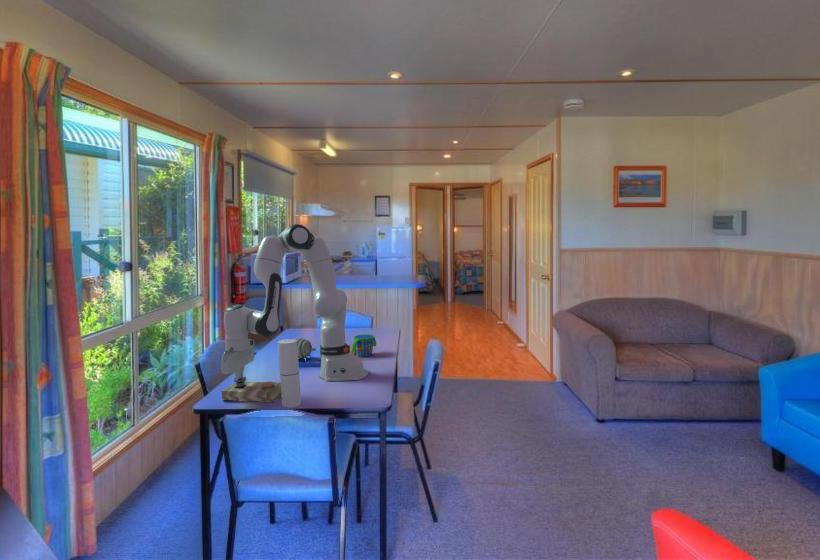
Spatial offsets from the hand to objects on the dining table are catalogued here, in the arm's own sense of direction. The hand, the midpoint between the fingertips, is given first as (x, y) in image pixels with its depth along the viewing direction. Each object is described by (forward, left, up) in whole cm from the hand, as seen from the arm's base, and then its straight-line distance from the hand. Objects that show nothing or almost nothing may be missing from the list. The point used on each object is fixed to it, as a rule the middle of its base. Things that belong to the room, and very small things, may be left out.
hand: (239, 377), depth 208 cm
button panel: (-6, 0, -8) cm, 10 cm away
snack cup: (-35, -63, -8) cm, 72 cm away
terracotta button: (-12, 0, -6) cm, 14 cm away
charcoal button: (0, 0, -4) cm, 5 cm away
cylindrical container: (-25, +7, -8) cm, 27 cm away
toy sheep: (-4, -53, -8) cm, 54 cm away
